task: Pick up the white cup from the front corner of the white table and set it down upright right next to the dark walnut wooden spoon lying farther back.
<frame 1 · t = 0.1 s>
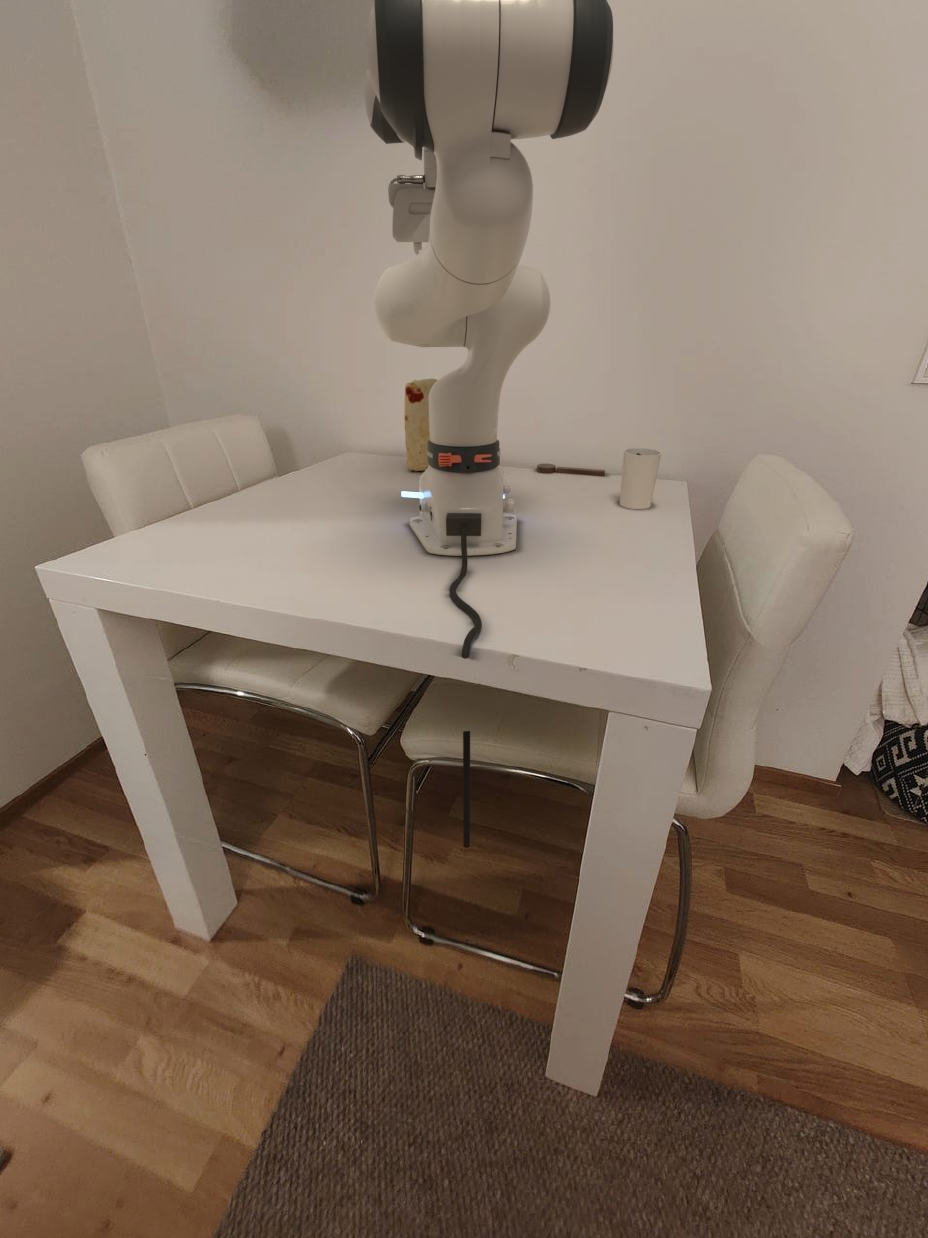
hand: (451, 273, 102), 39 cm above the table, tool pointing down, fingers open, 8 cm apart
food model: (426, 470, 134), on the table
white cup: (634, 505, 110), on the table
wooden spoon: (569, 472, 132), on the table
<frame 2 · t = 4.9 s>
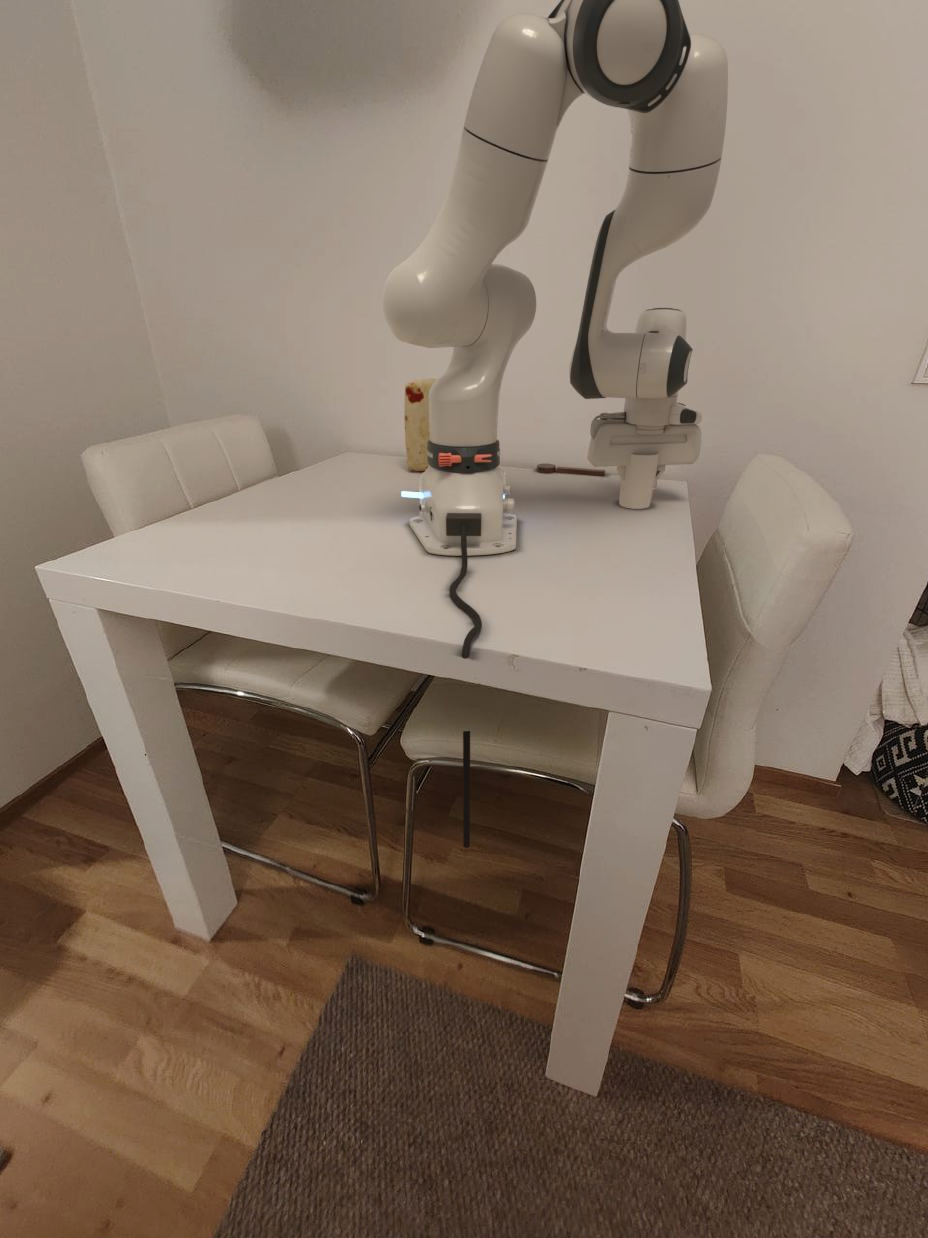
hand: (638, 488, 108), 3 cm above the table, tool pointing down, fingers closed on white cup, 3 cm apart
white cup: (634, 505, 110), on the table, touching gripper
everything else where it was.
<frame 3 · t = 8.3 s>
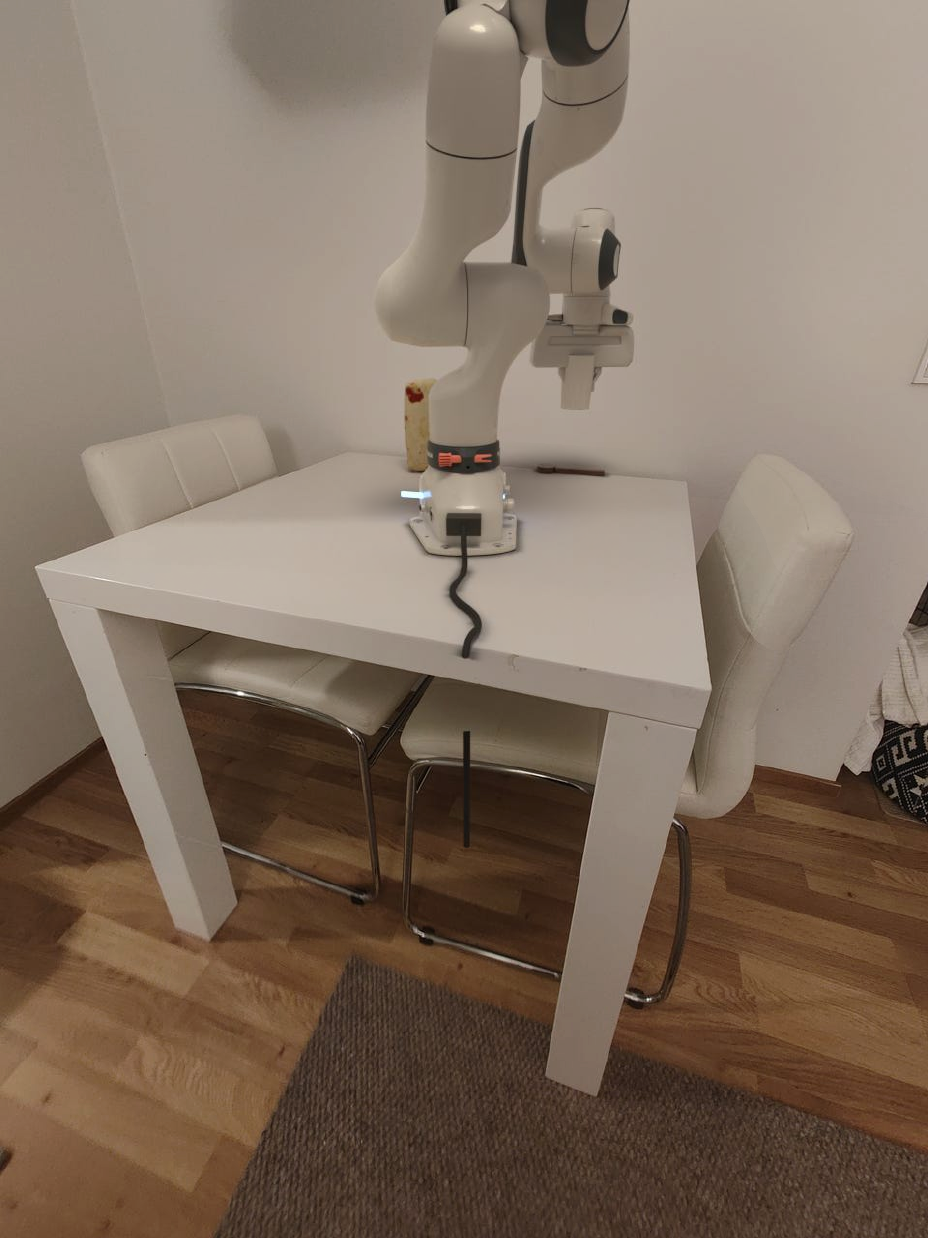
hand: (578, 391, 115), 19 cm above the table, tool pointing down, fingers closed on white cup, 3 cm apart
white cup: (574, 408, 117), point 15 cm above the table, touching gripper
everything else where it was.
when the fingers open (3 cm above the table, at t = 12.0 s): white cup stays where it is, on the table.
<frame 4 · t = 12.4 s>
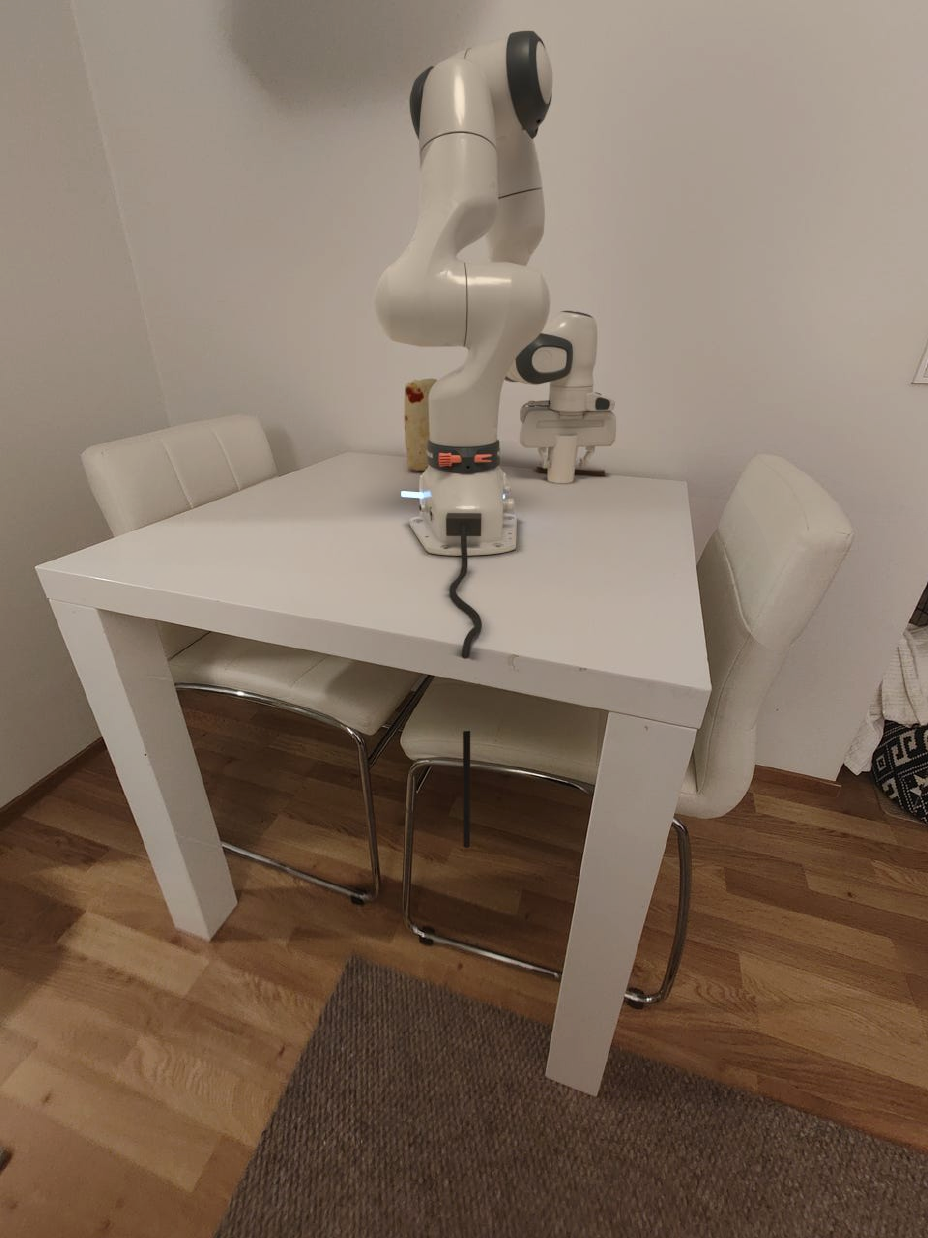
hand: (564, 467, 124), 3 cm above the table, tool pointing down, fingers open, 7 cm apart
white cup: (560, 480, 126), on the table
everything else where it was.
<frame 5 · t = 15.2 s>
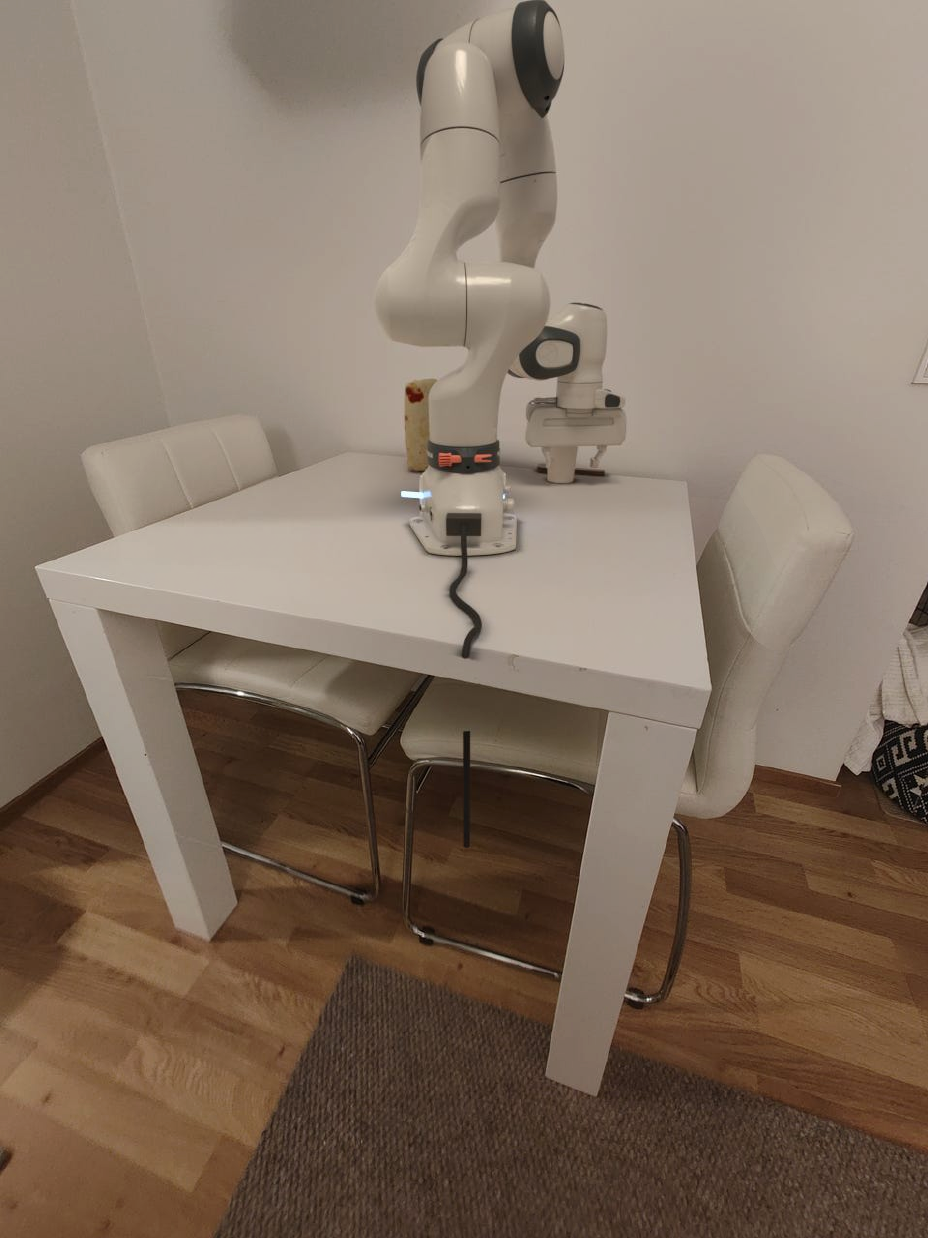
hand: (572, 467, 119), 4 cm above the table, tool pointing down, fingers open, 8 cm apart
nothing on the table moved.
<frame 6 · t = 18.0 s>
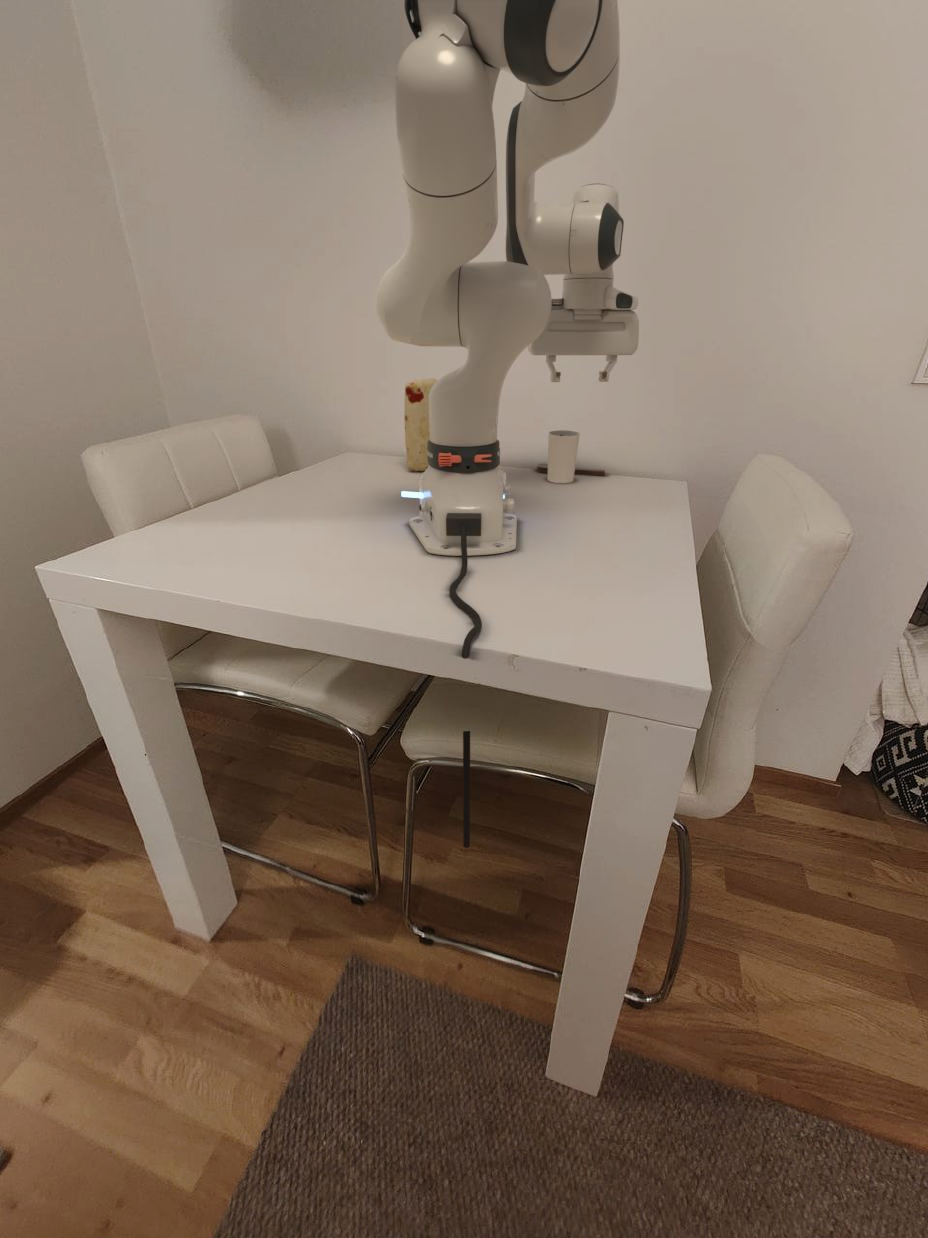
hand: (579, 381, 109), 21 cm above the table, tool pointing down, fingers open, 8 cm apart
nothing on the table moved.
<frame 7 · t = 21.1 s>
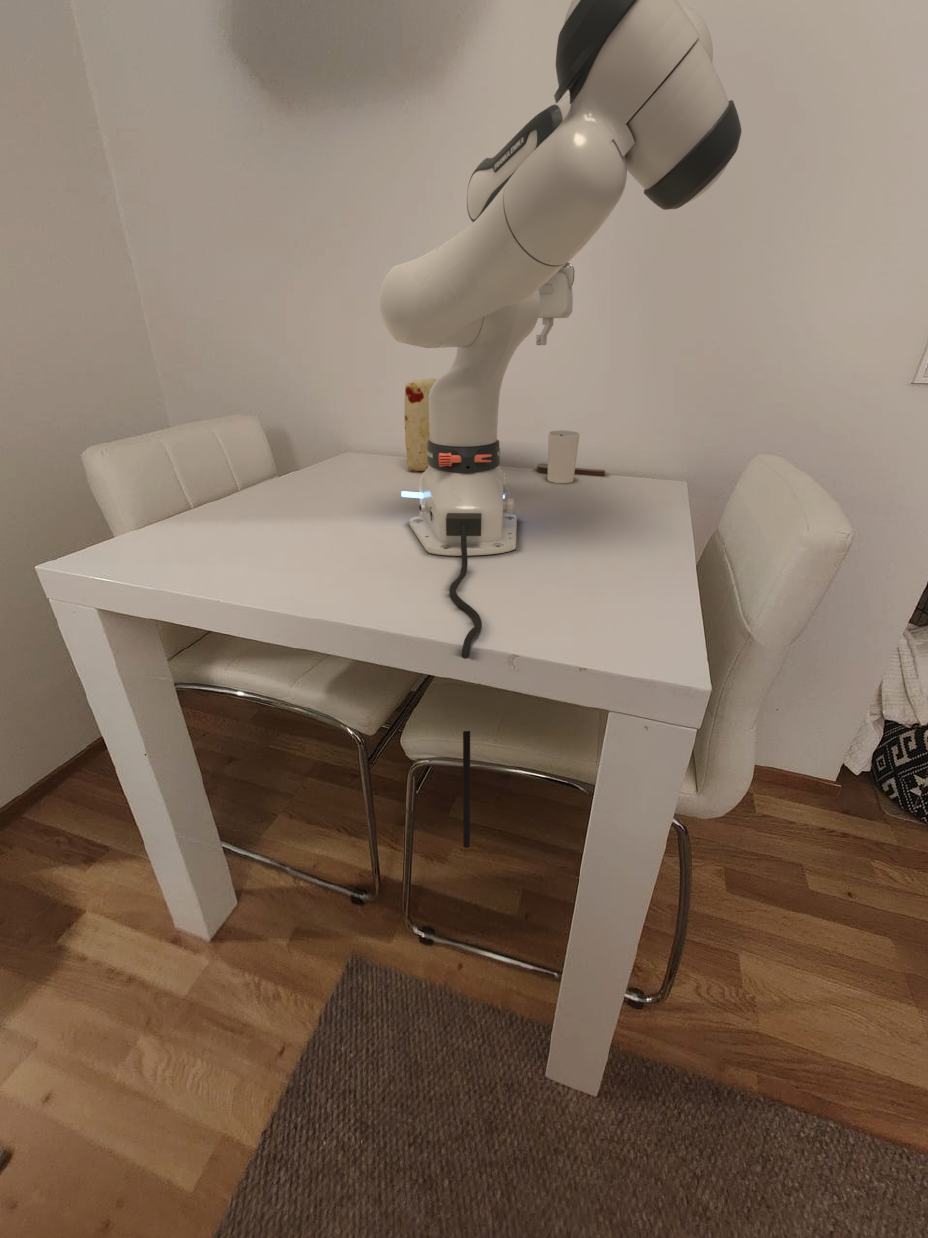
hand: (519, 344, 112), 27 cm above the table, tool pointing down, fingers open, 8 cm apart
nothing on the table moved.
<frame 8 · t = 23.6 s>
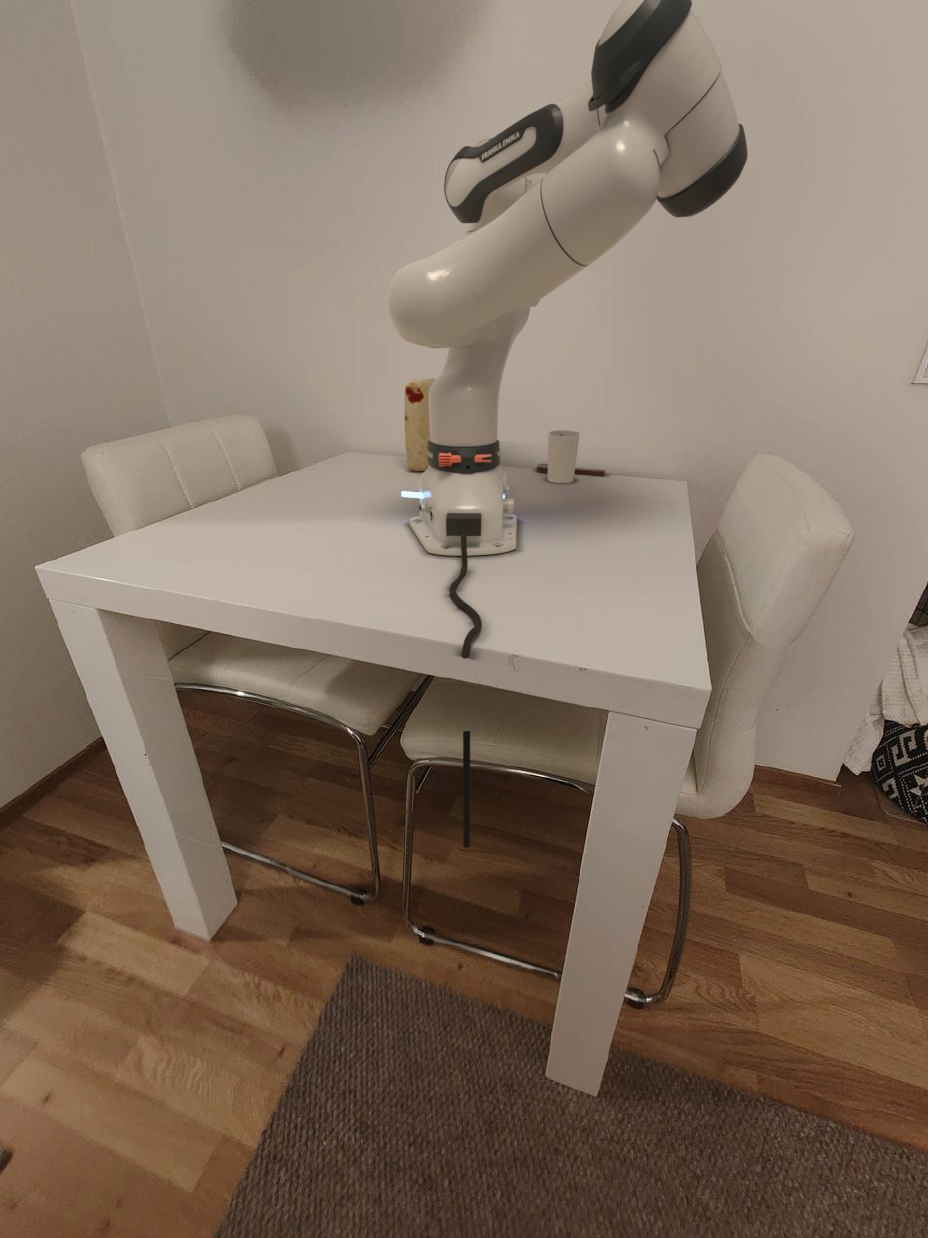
hand: (487, 332, 115), 29 cm above the table, tool pointing down, fingers open, 8 cm apart
nothing on the table moved.
at the end: white cup 7.3 cm from the wooden spoon (horizontally); white cup tilted 0°; white cup on the table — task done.
